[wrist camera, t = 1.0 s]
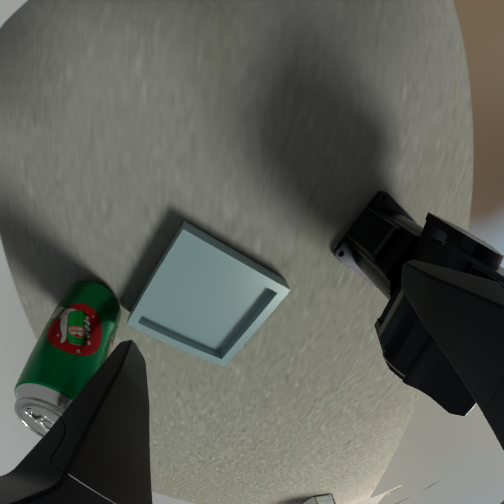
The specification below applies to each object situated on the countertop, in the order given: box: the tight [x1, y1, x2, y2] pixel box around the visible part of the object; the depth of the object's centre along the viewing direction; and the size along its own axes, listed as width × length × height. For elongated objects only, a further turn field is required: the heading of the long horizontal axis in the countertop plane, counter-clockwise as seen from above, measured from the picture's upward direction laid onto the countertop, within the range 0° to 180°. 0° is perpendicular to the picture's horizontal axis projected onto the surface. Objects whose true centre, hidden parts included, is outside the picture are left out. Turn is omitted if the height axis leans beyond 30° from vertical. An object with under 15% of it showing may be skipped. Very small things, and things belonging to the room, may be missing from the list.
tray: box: [126, 221, 290, 367], centre depth 23 cm, size 9×9×2 cm
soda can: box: [14, 281, 121, 437], centre depth 17 cm, size 5×5×12 cm
